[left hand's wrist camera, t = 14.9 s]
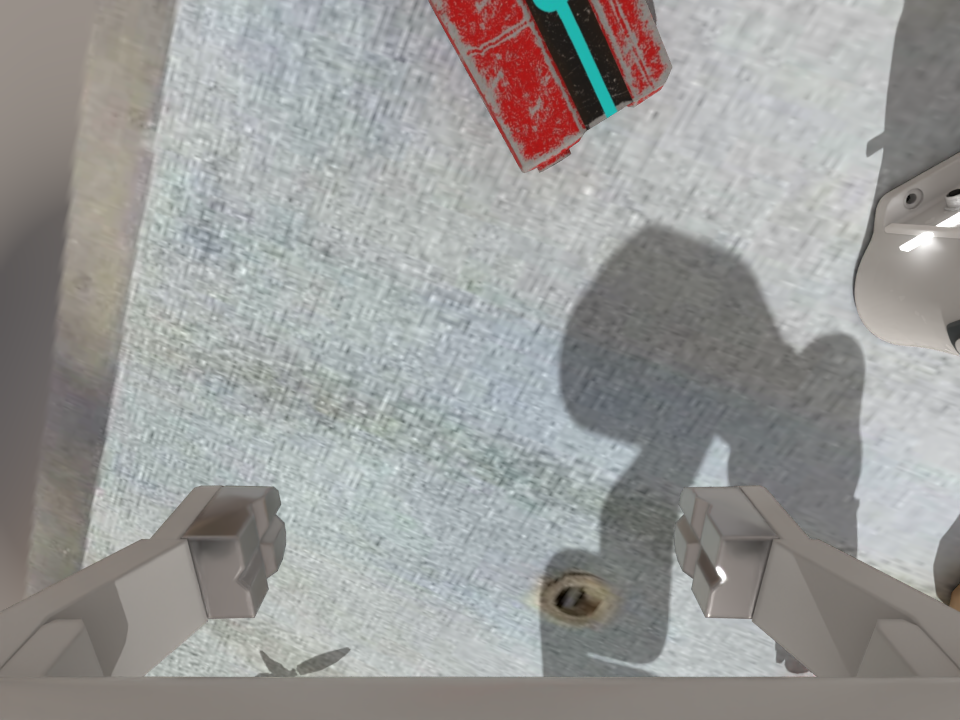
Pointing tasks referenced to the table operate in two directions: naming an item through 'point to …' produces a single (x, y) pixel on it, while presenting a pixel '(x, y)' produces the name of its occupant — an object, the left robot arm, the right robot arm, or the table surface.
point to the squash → (955, 599)
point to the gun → (555, 66)
